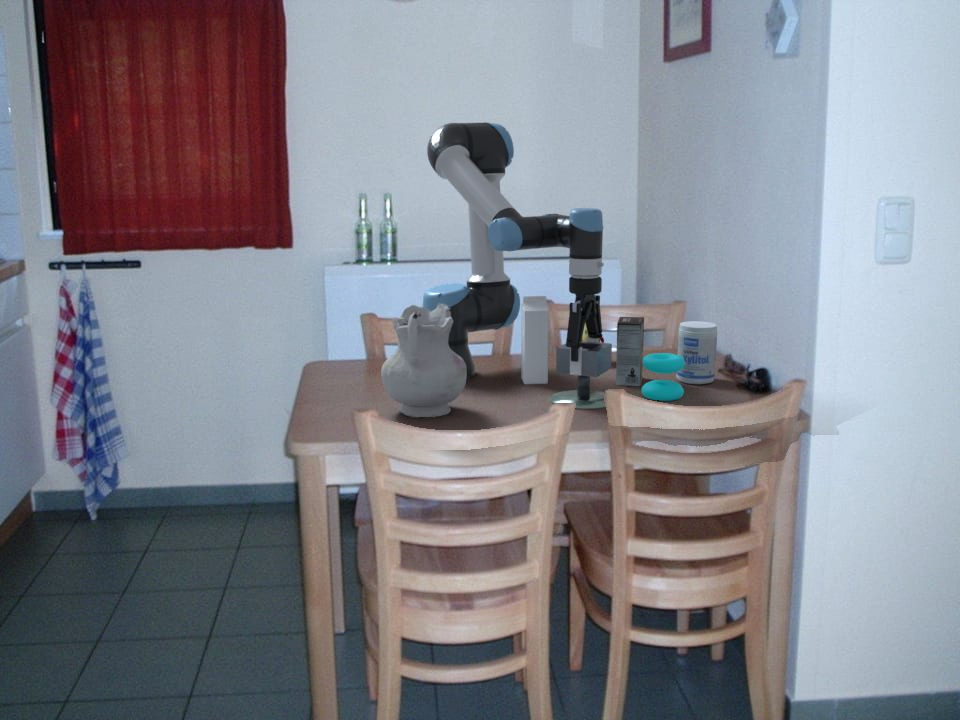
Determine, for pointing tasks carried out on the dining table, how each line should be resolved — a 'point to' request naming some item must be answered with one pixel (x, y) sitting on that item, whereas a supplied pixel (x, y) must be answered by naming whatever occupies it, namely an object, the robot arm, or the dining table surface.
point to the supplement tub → (697, 352)
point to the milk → (534, 340)
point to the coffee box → (629, 351)
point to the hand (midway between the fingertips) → (584, 369)
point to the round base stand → (581, 395)
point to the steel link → (586, 358)
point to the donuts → (665, 365)
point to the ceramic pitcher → (424, 363)
